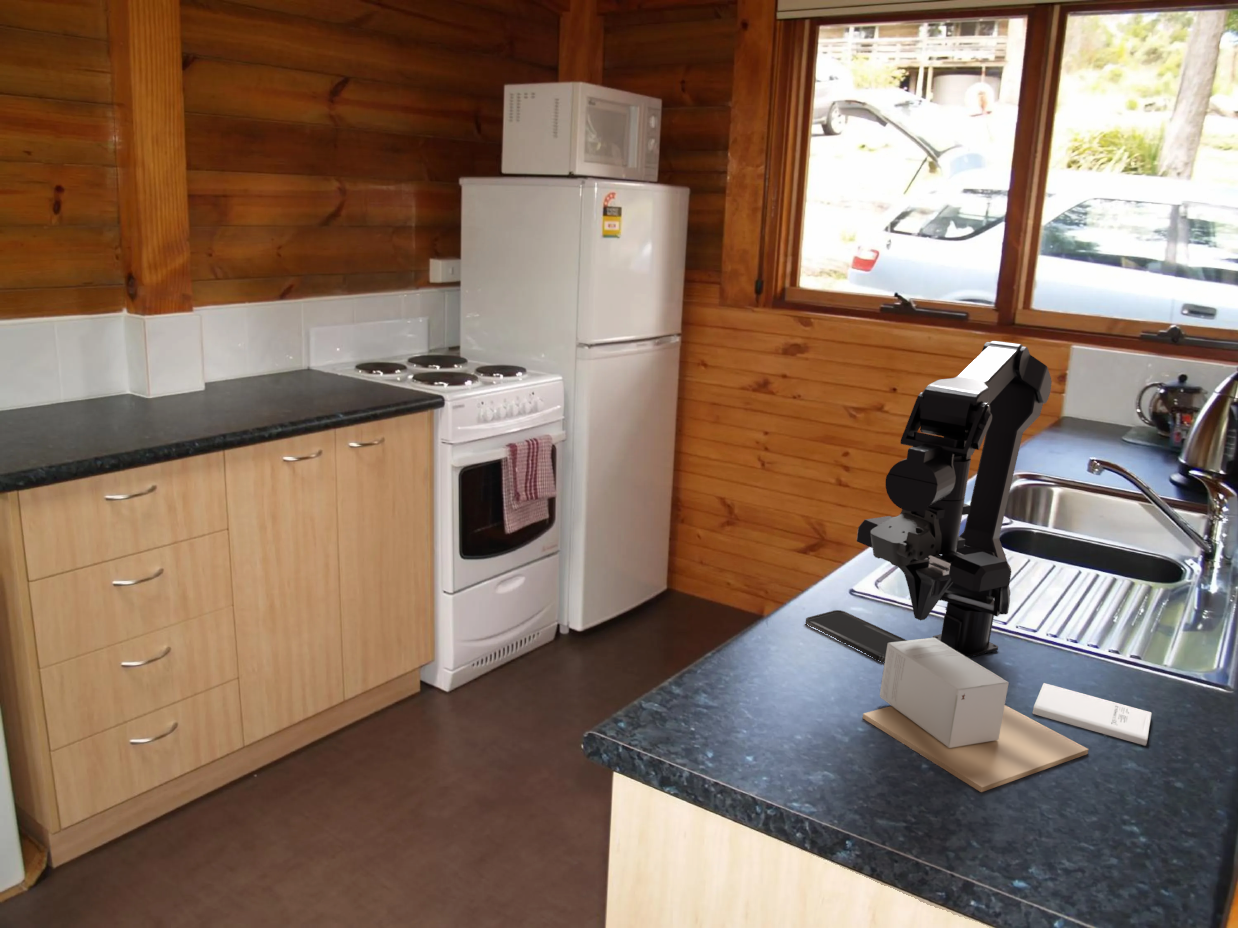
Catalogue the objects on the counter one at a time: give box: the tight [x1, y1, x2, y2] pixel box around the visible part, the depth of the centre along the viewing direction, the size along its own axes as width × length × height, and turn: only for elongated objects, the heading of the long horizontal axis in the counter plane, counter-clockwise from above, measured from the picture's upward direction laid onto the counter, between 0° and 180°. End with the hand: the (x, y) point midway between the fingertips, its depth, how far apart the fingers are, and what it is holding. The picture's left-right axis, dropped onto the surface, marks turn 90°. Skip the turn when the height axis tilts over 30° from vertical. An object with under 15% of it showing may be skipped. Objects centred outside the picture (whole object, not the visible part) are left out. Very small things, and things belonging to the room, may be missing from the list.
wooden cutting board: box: [862, 704, 1089, 793], centre depth 116 cm, size 18×17×1 cm
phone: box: [805, 609, 908, 663], centre depth 142 cm, size 8×1×15 cm
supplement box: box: [879, 637, 1010, 748], centre depth 118 cm, size 7×7×13 cm
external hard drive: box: [1032, 682, 1153, 746], centre depth 123 cm, size 2×8×12 cm
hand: (920, 618), depth 122 cm, fingers closed
